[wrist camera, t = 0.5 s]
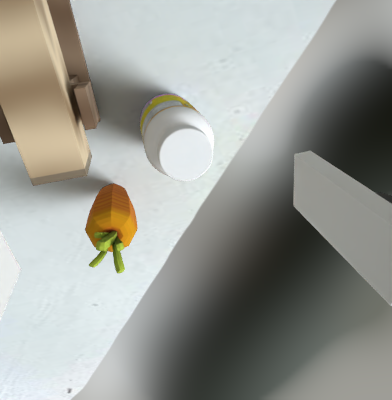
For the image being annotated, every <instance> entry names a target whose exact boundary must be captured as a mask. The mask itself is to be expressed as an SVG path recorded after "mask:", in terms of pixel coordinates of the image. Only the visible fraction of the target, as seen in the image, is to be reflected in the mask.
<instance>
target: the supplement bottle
mask: <svg viewBox="0 0 392 400" xmlns="http://www.w3.org/2000/svg"><path fill="white" fill-rule="evenodd" d="M140 129H141V134H142V139H143V144H144V149H145V153H146V156H147V158H148V160H149V162H150V163H151V164H152V166H153V167H154V168H155V169H157V170H158V171H159V172H161V173H163V174H165V175H168V176H169V177H171V178H173V179H175V180H179V181H190V180H194V179H196V178H198V177H200V176H201V175H203V174H204V173H205V172H206V171H207V170H208V168H209V167H210V165H211V162H212V159H213V147H214V136H213V131H212V129H211V126H210V124H209V123H208V121H207V120H206V119H205V118H204V117H203V116H202V115H201V114H200V113H199V112H198V111H197V110H196V109H195V108H194V107H193V106H192V105H191V104H190V103H189V102H187V101H186V100H185V99H183V98H182V97H180V96H178V95H175V94H161V95H158V96H156V97H154V98H152V99H151V100H150V101H149V102H148V103H147V104H146V105H145V106H144V108H143V110H142V112H141V116H140Z"/></svg>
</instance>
